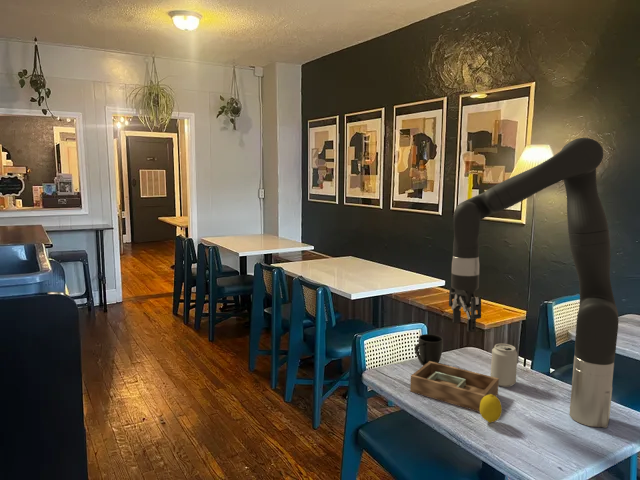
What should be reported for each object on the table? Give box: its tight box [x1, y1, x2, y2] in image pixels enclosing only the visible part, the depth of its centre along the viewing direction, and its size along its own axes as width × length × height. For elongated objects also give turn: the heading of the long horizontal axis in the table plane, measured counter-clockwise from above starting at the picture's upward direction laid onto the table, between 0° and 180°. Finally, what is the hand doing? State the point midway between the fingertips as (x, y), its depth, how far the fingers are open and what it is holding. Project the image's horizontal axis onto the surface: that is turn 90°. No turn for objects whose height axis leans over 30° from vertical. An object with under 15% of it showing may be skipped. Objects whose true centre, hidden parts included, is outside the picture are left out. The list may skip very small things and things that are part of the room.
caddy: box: [409, 361, 499, 413], centre depth 143 cm, size 22×14×5 cm, turn 54°
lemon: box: [479, 394, 503, 424], centre depth 126 cm, size 6×6×8 cm
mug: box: [414, 333, 444, 367], centre depth 163 cm, size 8×12×10 cm
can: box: [490, 343, 519, 388], centre depth 150 cm, size 8×8×12 cm
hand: (463, 327), depth 137 cm, fingers open, 8 cm apart
